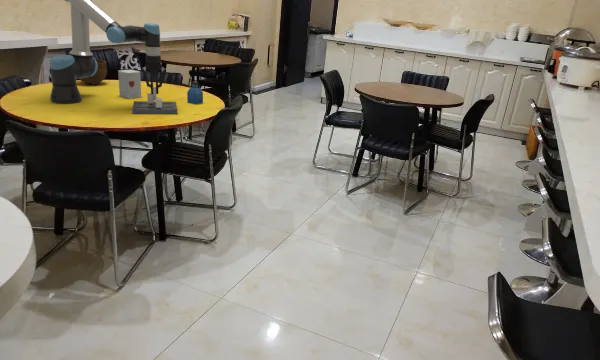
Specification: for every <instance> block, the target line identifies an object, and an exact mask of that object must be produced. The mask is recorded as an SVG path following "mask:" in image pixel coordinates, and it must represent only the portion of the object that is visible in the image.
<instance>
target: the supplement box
mask: <svg viewBox="0 0 600 360" xmlns="http://www.w3.org/2000/svg"><path fill="white" fill-rule="evenodd" d="M117 72H118V73H117V74H118V90H119V97H122V98H125V99H127V100H129V99H138V98H142V81H141V71H139V70H134V69H121V70H118V71H117Z"/></svg>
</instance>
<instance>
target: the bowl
mask: <svg viewBox="0 0 600 360" xmlns="http://www.w3.org/2000/svg"><path fill="white" fill-rule="evenodd" d="M95 59H96V61H97V64H98V69H97V72H96V73H95V74H94V75H93V76H90V77H88V78H81V79H79V80H80V81H81V82H83V83H84V84H88V85H97V84H100V83H102V82H103V81H104V80H105V79H106V77H107V75H108V74H107V73H108V68H107V61H106V60H104V59H100V58H95Z"/></svg>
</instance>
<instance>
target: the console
mask: <svg viewBox="0 0 600 360" xmlns="http://www.w3.org/2000/svg"><path fill="white" fill-rule="evenodd" d="M131 111H132V112H131V113H132V115H178V106H177V102H176V101H170V100H169V101H163V100H162V108H156V100H154V103H148V100H147V101H146V100H145V101H144V100H143V101H142V100H134V101H133V105H132V109H131Z"/></svg>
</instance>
